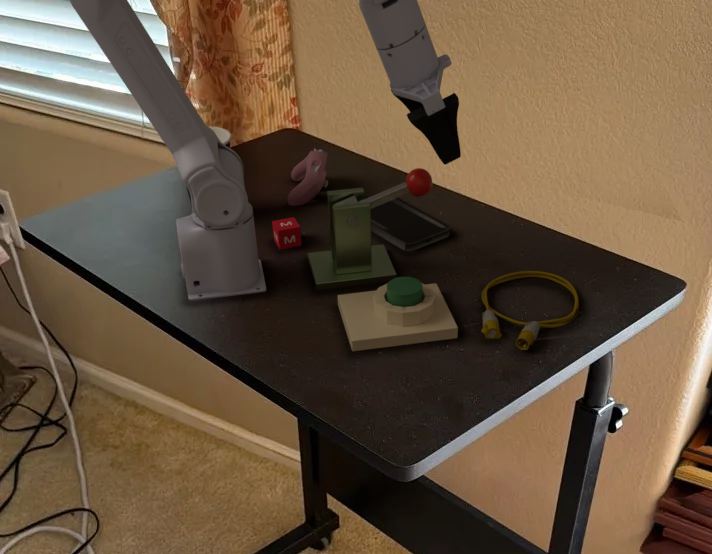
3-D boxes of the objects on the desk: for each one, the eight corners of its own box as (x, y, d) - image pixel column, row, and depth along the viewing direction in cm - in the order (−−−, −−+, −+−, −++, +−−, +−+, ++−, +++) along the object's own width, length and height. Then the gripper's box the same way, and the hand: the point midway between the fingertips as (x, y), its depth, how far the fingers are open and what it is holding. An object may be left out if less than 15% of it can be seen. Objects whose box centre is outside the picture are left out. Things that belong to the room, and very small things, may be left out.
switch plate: (352, 353, 98) (351, 327, 95) (338, 307, 105) (336, 281, 103) (457, 340, 99) (458, 313, 97) (436, 295, 106) (436, 269, 104)
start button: (390, 310, 98) (390, 296, 97) (383, 292, 101) (383, 278, 100) (425, 305, 99) (426, 292, 97) (417, 288, 102) (417, 274, 100)
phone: (385, 190, 125) (453, 228, 116) (385, 198, 126) (453, 235, 117) (339, 206, 122) (406, 246, 113) (340, 214, 123) (406, 254, 114)
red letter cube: (295, 237, 118) (294, 217, 116) (301, 247, 116) (300, 226, 114) (274, 242, 118) (272, 221, 116) (280, 252, 116) (277, 230, 114)
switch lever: (431, 183, 107) (424, 159, 105) (438, 194, 105) (430, 170, 102) (340, 222, 108) (331, 199, 106) (344, 234, 106) (335, 211, 104)
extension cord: (437, 317, 103) (438, 302, 101) (525, 269, 110) (527, 254, 109) (518, 359, 96) (520, 344, 94) (606, 305, 103) (609, 290, 102)
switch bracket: (383, 252, 115) (383, 179, 108) (396, 282, 109) (396, 208, 102) (307, 261, 114) (302, 188, 107) (316, 292, 108) (311, 217, 101)
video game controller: (314, 218, 126) (333, 175, 122) (284, 205, 125) (303, 161, 120) (317, 188, 133) (336, 147, 129) (289, 176, 132) (307, 133, 128)
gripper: (451, 35, 88) (493, 154, 97) (419, -1, 99) (459, 109, 108) (387, 69, 89) (434, 184, 98) (362, 30, 100) (406, 137, 109)
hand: (443, 147), depth 103 cm, fingers open, 7 cm apart
